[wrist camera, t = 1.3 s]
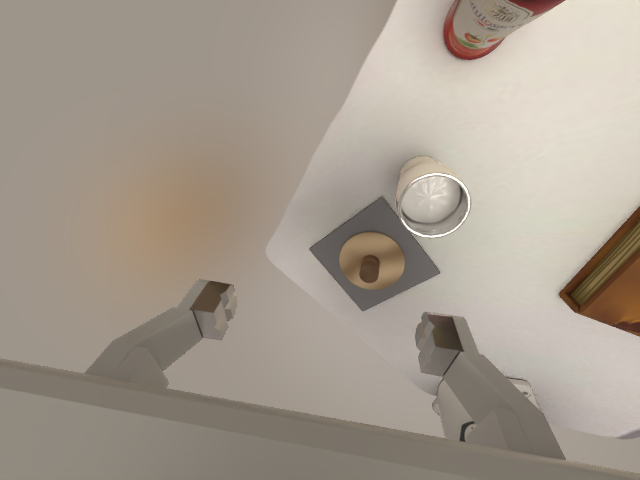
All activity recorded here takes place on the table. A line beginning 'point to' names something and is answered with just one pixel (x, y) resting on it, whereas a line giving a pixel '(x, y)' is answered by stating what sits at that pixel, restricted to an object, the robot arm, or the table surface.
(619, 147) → the table surface
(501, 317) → the table surface
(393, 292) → the rubber mat
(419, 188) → the beer glass
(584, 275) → the diary
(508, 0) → the liquor
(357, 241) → the oak lid
